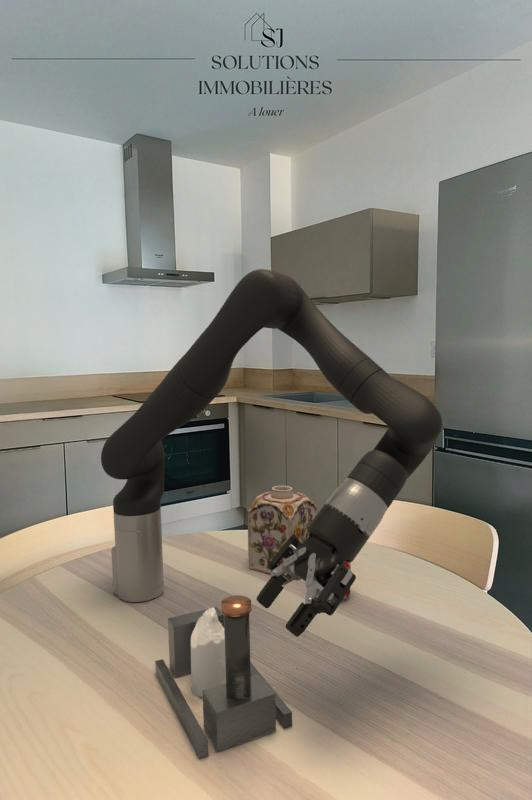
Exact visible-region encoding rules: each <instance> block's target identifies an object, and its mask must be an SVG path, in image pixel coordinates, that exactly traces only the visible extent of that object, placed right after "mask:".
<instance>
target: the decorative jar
mask: <svg viewBox="0 0 532 800" xmlns="http://www.w3.org/2000/svg"><path fill="white" fill-rule="evenodd" d="M317 514H318V506H317V505H316V503H315V502H314V501H313V500H312V498H310V497H309V496H308V495H306V494H305V493H303V492H298V491H293V487H292V486H289V485H275V486H272V487H271V491H266V492H263V493H261V494H259V495H257V496H256V497H255V499H254V501H253V502H252V503H251V505H250V507H249V509H248V510H247V554H248V568H249V569H250V570H253V571H258V572H261V573H264V574H268V575H271V570H270V569H269V568H268V564H269V562H270V561H271V560H272V559H273V558H274V556H275V555H276V554H277V553H278V551H279V550H280V549H281V548H282V546H283V545H284V544H285V543H286V542H287V540H288V539H289V538H290V537H291V536H292V535H296V536H297V537H298V538H299V539H300V540H301V541H302V542H304V541H305V540H306V539H307V538H308V537H309V532H308V530H307V527H308V526H309V524H310V523H311V522H312V520H313V519H314V518H315V516H316V515H317ZM283 560H285V558H282V559H281V561H280V562H279V563H278V565H279V566H280V565H282V564H283ZM294 565H295V564H294ZM294 565H293V566H294ZM287 574H288V573H285V575H287Z"/></svg>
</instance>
